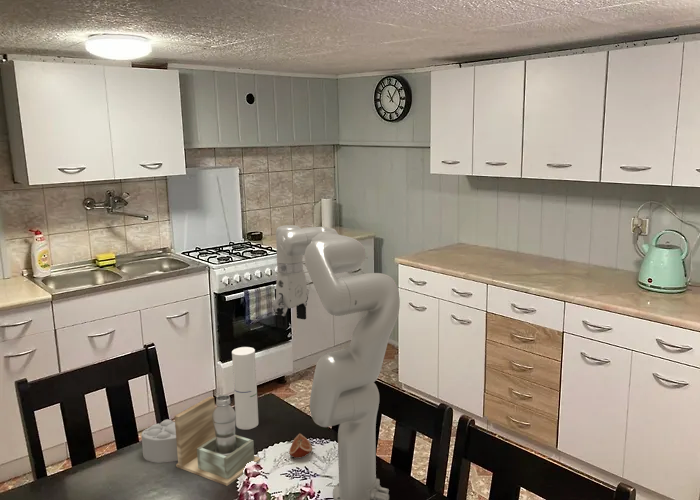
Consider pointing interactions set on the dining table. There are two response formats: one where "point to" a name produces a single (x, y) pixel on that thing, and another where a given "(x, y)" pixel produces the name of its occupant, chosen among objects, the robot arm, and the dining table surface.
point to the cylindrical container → (245, 387)
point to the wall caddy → (208, 446)
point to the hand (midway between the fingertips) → (292, 323)
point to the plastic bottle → (224, 426)
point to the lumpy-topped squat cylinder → (160, 442)
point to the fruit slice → (300, 447)
